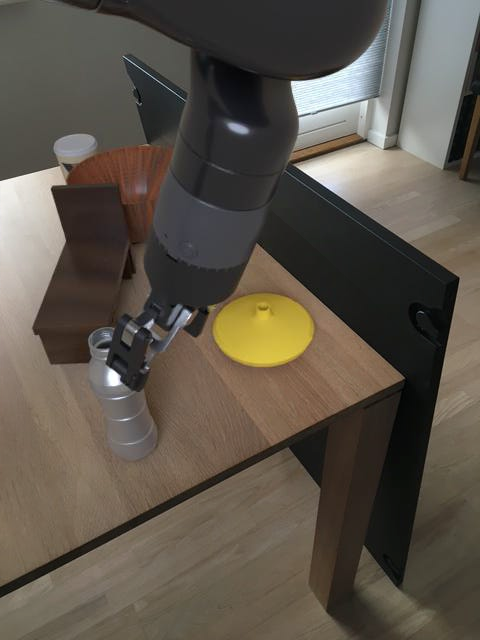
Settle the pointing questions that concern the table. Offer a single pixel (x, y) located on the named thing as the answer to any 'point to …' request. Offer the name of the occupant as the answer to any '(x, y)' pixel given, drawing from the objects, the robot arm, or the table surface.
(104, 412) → the plastic bottle
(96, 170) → the bowl
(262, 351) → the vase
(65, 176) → the coffee cup
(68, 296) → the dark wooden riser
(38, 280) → the table surface
